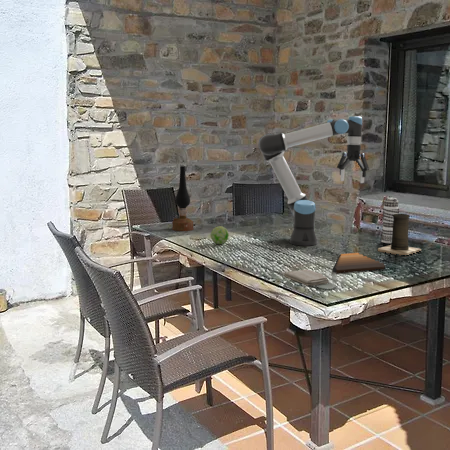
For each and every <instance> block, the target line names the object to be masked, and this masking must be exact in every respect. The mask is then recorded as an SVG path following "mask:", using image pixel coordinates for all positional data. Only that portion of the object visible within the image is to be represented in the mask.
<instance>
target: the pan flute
mask: <svg viewBox="0 0 450 450" xmlns="http://www.w3.org/2000/svg"><path fill="white" fill-rule="evenodd" d="M384 268H385V269H386V265H385V264H384V262H380V261H379V260H375V258H374V259H372V258H371V257H368V256H367V255H365V256H364V255H363V253H359V252H354V253H353V252H352V253H350V252H349V253H340V254H339V255H338V257H337V259H336V261H335V263H334V265H333V267H332V272H333V273H335V274H341V273H343V274H344V273H345V274H346V273H355V272H356V271H358V272H366V271H365V270H370V271H376V270H375V269H383V270H385V269H384ZM356 273H357V272H356Z"/></svg>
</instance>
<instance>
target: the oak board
mask: <svg viewBox="0 0 450 450" xmlns="http://www.w3.org/2000/svg"><path fill="white" fill-rule="evenodd" d="M391 245H392V244H390V245H389V244H388V245H386V246H382V247H378V248H377V251H378V252H379V253H385V252H386V253H387V254H390V253H391V254H390V255H396V254H399V255H398V256H401V255H409V254H412V255H414V254H413V253H415V254H417V253H416V252H419V251H421V252H422V249H421V248H417V247H411V246H408V247H409V249H408V250H394V249H391ZM419 253H420V252H419ZM409 256H410V255H409Z"/></svg>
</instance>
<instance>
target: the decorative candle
mask: <svg viewBox="0 0 450 450" xmlns="http://www.w3.org/2000/svg"><path fill="white" fill-rule="evenodd" d="M383 201H384V203H383V204H384V205H383V207H382V216H383V217H382V222H383V223H382V229H381V231H382V232H381V234H382V235H381V238H380V241H381V243H385V244H391V243H392V233H393V220H394V219H393V218H394V217H393V214H400V211H399V210H400V208H399V202H400V201H399V200H398V198H396V197H386V198H385V200H383Z"/></svg>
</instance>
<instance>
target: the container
mask: <svg viewBox="0 0 450 450" xmlns="http://www.w3.org/2000/svg"><path fill="white" fill-rule="evenodd" d="M393 217H394V218H393V219H394V220H393V233H392V243H390V245H391V249H394V250H408V249H409V247H410V246H409V245H410V244H409V225H410V214H407V213H397V214H393Z"/></svg>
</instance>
